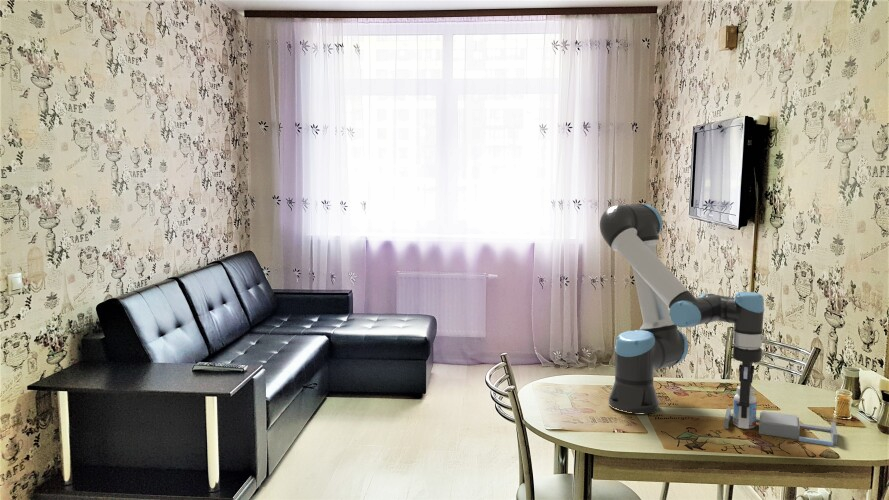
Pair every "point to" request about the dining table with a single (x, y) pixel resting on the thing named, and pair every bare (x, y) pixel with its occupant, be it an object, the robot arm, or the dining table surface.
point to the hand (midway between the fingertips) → (744, 423)
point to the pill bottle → (752, 408)
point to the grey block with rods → (786, 427)
